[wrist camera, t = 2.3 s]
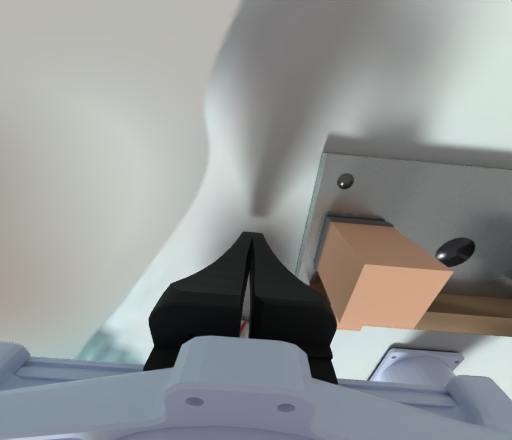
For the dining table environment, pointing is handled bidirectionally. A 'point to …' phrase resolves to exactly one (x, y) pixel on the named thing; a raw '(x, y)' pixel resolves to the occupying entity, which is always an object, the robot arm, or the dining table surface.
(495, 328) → the rail
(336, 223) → the block
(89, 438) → the robot arm
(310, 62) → the dining table surface
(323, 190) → the plate
